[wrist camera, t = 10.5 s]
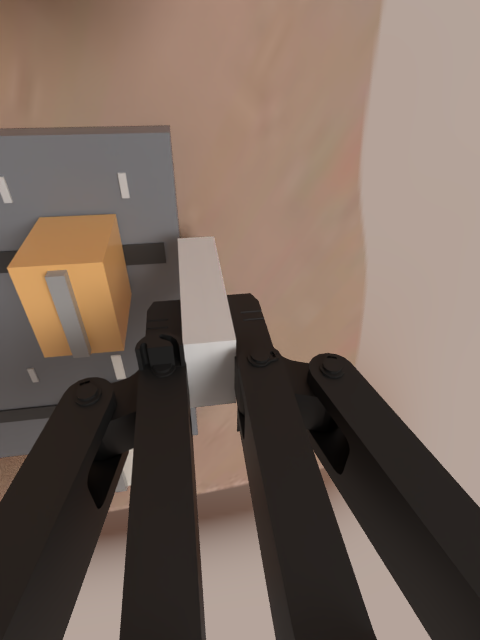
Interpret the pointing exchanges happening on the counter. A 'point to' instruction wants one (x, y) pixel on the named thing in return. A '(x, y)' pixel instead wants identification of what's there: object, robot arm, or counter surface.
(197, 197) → the counter surface
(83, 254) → the orange fader
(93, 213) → the fader board
